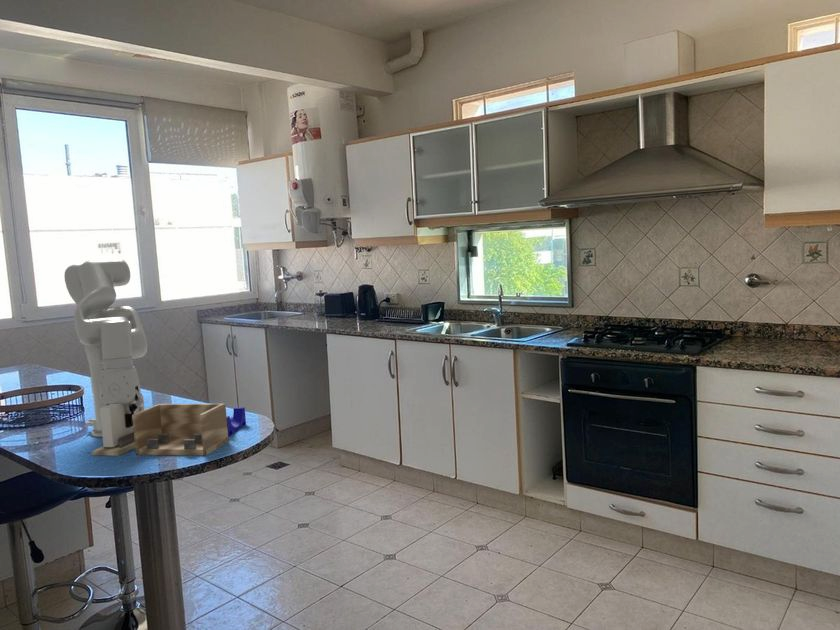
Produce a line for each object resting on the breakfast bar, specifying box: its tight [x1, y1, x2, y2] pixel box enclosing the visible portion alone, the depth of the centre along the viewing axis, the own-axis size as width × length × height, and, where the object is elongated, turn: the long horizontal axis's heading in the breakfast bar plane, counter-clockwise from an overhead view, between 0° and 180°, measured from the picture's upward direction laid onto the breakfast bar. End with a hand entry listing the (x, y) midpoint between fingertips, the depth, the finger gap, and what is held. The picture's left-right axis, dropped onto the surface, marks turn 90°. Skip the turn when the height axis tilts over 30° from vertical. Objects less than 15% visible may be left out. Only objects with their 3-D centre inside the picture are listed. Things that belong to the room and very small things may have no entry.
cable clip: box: [226, 406, 247, 438], centre depth 191 cm, size 12×4×6 cm, turn 172°
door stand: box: [92, 432, 135, 457], centre depth 181 cm, size 8×18×4 cm, turn 169°
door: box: [100, 394, 145, 447], centre depth 181 cm, size 15×4×11 cm, turn 169°
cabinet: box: [132, 403, 229, 456], centre depth 175 cm, size 21×12×11 cm, turn 79°
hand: (124, 425), depth 181 cm, fingers closed on door, 3 cm apart
